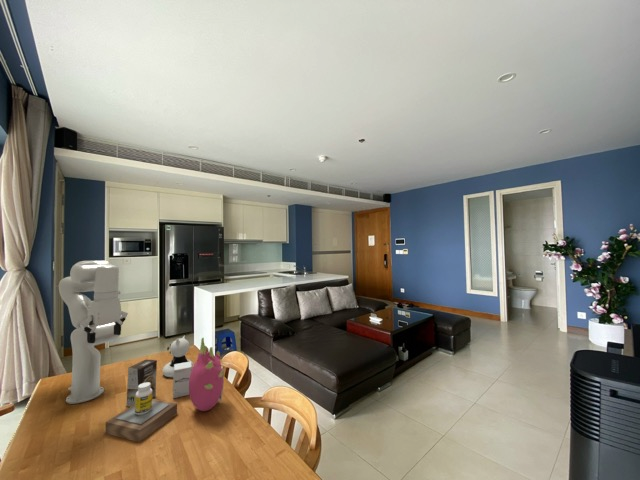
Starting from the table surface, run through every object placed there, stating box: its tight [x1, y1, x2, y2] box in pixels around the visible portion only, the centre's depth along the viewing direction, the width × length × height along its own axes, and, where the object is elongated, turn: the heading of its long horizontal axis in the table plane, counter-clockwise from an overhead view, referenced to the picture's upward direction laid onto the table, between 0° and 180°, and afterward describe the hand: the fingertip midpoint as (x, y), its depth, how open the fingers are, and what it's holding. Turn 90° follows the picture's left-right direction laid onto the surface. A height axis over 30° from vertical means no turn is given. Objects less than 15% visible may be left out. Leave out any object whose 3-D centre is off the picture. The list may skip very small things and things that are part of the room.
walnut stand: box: [104, 398, 178, 443], centre depth 98 cm, size 16×16×4 cm
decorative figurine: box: [161, 335, 194, 378], centre depth 139 cm, size 15×15×20 cm
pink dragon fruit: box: [189, 337, 225, 412], centre depth 108 cm, size 18×14×30 cm
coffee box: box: [125, 359, 158, 408], centre depth 113 cm, size 9×6×16 cm
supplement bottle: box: [135, 382, 153, 415], centre depth 99 cm, size 5×5×10 cm
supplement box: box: [172, 360, 193, 399], centre depth 119 cm, size 7×7×13 cm
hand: (104, 338), depth 104 cm, fingers open, 9 cm apart
